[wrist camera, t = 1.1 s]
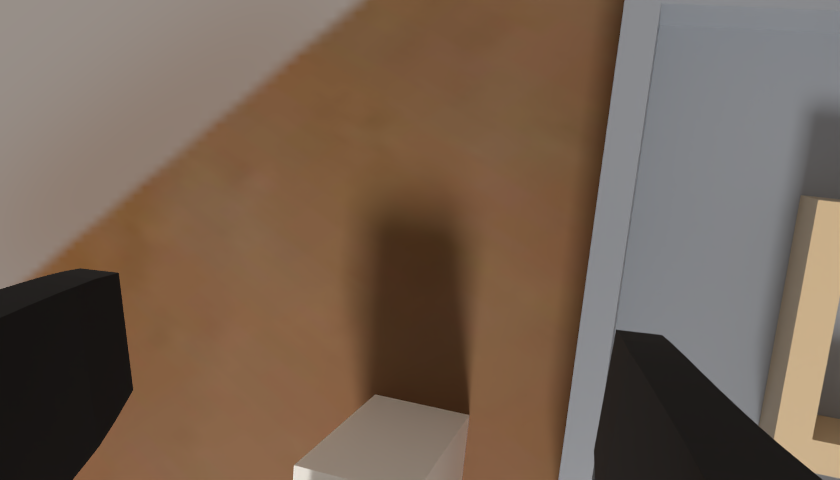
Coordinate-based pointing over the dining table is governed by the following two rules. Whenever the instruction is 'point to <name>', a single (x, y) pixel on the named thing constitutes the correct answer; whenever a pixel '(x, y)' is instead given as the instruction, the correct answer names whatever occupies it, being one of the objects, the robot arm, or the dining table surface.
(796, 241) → the box
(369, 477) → the plug
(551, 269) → the dining table surface
